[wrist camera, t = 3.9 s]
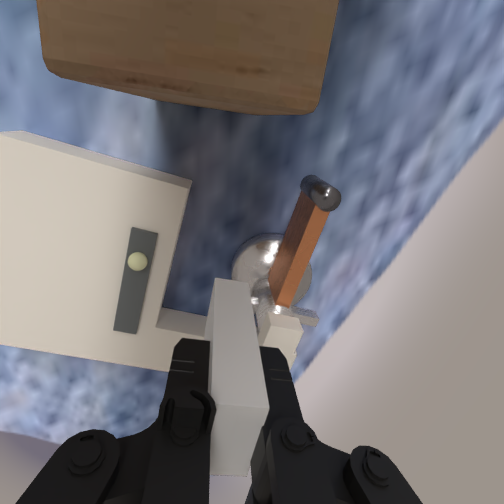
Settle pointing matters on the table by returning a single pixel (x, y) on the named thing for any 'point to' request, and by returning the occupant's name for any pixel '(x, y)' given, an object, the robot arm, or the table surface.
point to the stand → (96, 257)
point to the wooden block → (195, 50)
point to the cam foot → (286, 256)
